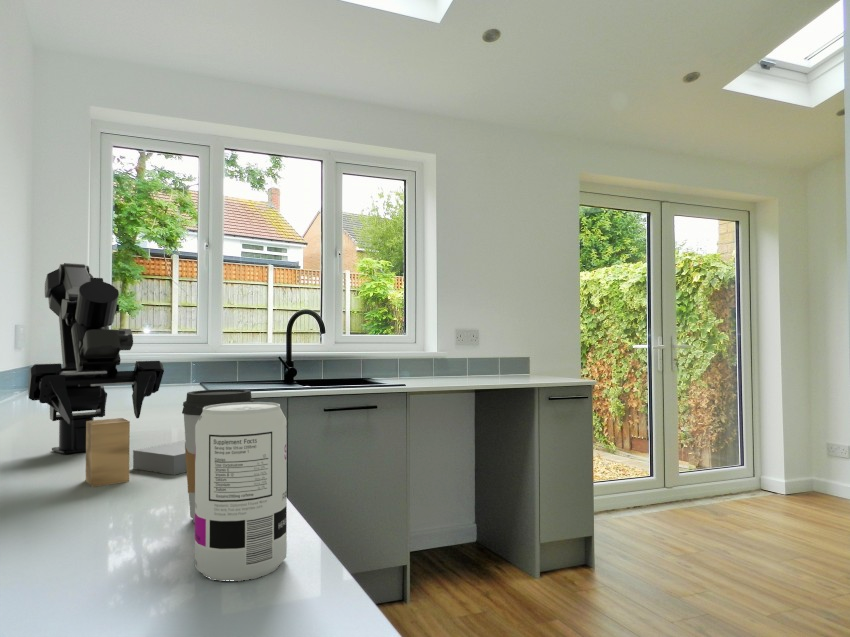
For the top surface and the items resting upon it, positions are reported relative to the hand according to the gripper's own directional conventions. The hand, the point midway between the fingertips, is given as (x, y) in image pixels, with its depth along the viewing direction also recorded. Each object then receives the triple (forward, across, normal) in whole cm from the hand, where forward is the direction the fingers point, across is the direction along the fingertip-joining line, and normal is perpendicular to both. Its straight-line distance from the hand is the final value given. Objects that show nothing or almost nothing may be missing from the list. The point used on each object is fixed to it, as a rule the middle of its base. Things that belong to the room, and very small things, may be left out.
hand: (105, 419), depth 89 cm
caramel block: (+8, 0, +5) cm, 9 cm away
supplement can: (+40, +3, -26) cm, 48 cm away
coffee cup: (+28, +7, -15) cm, 33 cm away
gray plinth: (+5, +12, +8) cm, 15 cm away
